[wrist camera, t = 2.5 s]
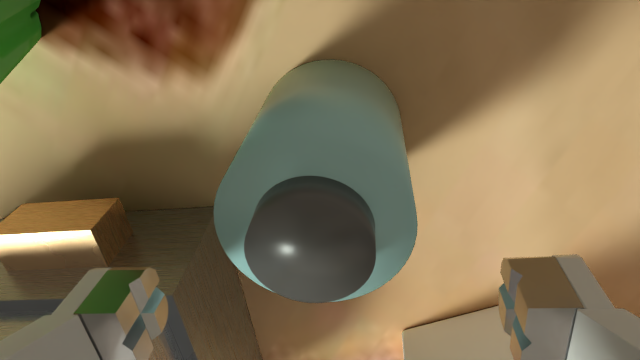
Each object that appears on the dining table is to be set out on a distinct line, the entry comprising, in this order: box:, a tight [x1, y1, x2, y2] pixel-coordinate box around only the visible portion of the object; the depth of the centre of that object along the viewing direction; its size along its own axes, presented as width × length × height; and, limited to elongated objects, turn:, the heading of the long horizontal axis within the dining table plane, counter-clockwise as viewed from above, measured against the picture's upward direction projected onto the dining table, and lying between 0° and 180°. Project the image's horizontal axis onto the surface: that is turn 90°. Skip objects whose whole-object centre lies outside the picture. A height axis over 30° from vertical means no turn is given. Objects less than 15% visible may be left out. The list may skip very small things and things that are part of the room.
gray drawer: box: [0, 198, 262, 360], centre depth 18 cm, size 12×10×6 cm
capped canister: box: [213, 59, 417, 303], centre depth 13 cm, size 5×5×7 cm
